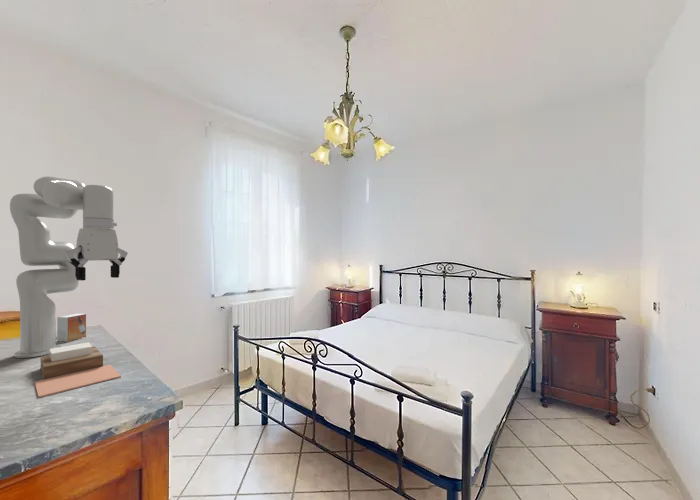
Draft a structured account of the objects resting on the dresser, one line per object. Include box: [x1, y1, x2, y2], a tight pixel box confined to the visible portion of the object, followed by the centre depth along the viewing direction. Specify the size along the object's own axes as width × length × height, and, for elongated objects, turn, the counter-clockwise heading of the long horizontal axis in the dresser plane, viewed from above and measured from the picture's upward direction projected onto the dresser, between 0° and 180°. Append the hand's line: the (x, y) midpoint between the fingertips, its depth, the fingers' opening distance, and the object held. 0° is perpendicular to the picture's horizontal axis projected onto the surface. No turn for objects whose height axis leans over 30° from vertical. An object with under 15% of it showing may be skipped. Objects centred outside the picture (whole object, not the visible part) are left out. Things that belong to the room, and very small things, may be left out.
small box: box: [56, 313, 87, 343], centre depth 137 cm, size 8×6×10 cm
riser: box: [40, 346, 104, 380], centre depth 104 cm, size 14×14×4 cm
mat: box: [34, 364, 122, 399], centre depth 94 cm, size 14×18×1 cm
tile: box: [48, 341, 93, 362], centre depth 104 cm, size 7×10×2 cm
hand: (98, 278), depth 99 cm, fingers open, 9 cm apart
